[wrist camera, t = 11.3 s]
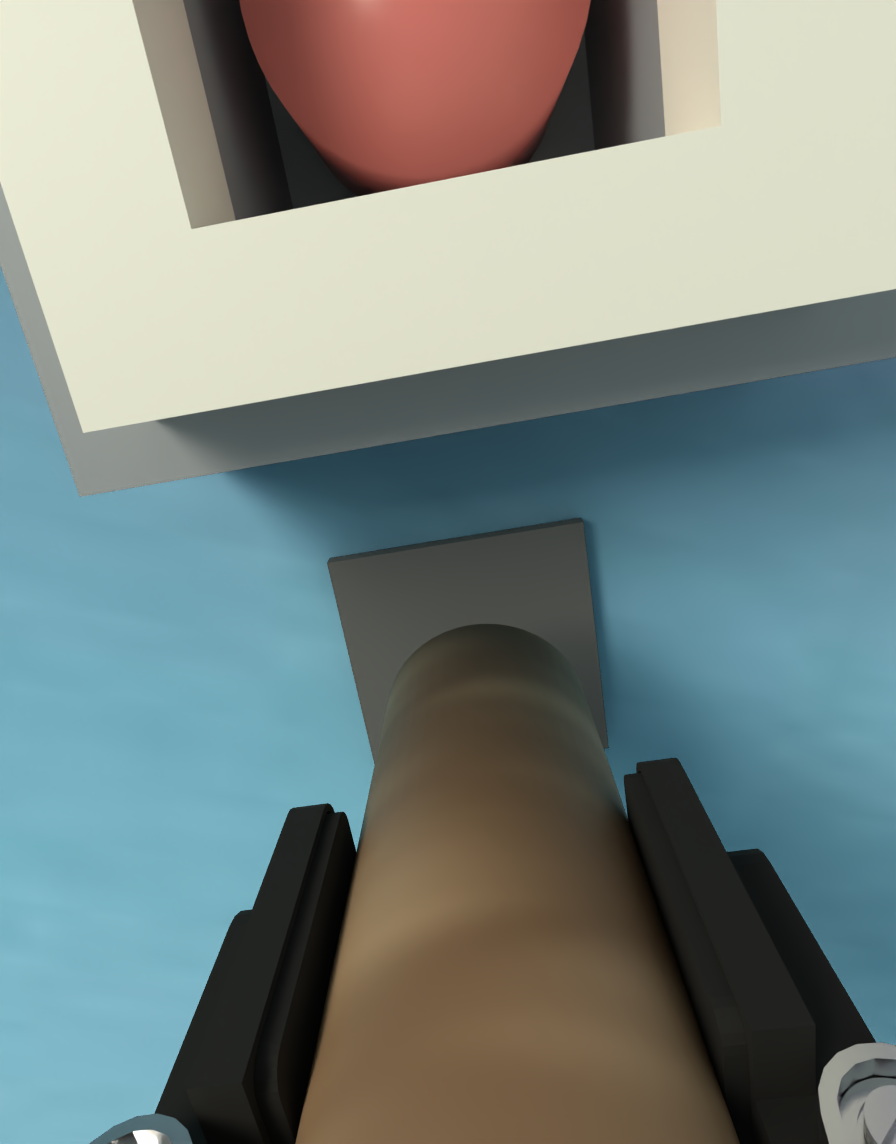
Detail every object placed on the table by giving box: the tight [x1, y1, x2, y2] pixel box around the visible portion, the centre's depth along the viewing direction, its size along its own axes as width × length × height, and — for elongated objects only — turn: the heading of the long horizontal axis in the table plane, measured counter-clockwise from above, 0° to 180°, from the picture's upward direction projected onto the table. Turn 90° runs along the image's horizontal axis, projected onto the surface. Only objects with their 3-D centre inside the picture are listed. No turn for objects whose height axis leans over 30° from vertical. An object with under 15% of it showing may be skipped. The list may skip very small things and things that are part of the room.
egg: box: [240, 0, 591, 196], centre depth 11 cm, size 5×5×4 cm
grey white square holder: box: [0, 0, 896, 497], centre depth 10 cm, size 12×13×7 cm
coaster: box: [327, 518, 609, 764], centre depth 17 cm, size 6×6×1 cm
